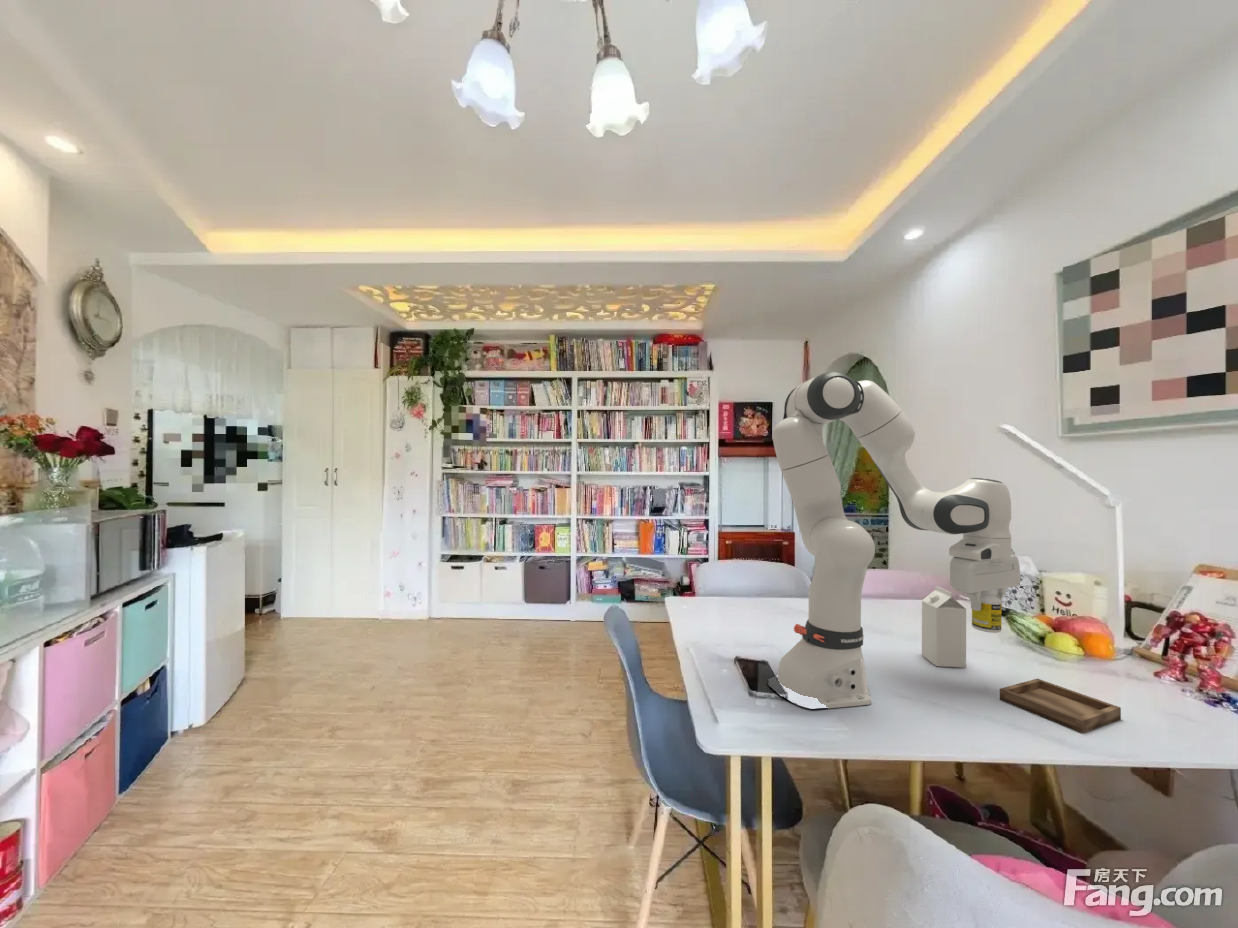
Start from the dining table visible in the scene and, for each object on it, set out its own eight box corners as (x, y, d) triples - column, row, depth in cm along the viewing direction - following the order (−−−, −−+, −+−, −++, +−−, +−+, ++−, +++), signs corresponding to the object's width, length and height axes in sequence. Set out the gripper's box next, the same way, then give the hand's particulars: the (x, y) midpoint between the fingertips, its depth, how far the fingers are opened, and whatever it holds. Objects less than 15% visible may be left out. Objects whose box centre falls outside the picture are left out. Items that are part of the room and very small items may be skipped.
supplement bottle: (994, 634, 104) (994, 590, 105) (967, 627, 109) (966, 585, 109) (1006, 631, 107) (1006, 588, 107) (979, 624, 112) (978, 583, 112)
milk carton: (949, 657, 126) (949, 586, 126) (966, 668, 119) (966, 593, 119) (921, 655, 126) (921, 585, 127) (936, 666, 119) (936, 592, 119)
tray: (1082, 733, 89) (1082, 720, 89) (999, 699, 102) (999, 688, 102) (1120, 719, 95) (1120, 707, 95) (1037, 688, 108) (1037, 678, 108)
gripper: (998, 543, 115) (998, 600, 115) (943, 548, 107) (943, 609, 107) (1029, 548, 109) (1029, 607, 109) (973, 553, 102) (973, 617, 101)
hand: (986, 608), depth 108 cm, fingers closed on supplement bottle, 5 cm apart
